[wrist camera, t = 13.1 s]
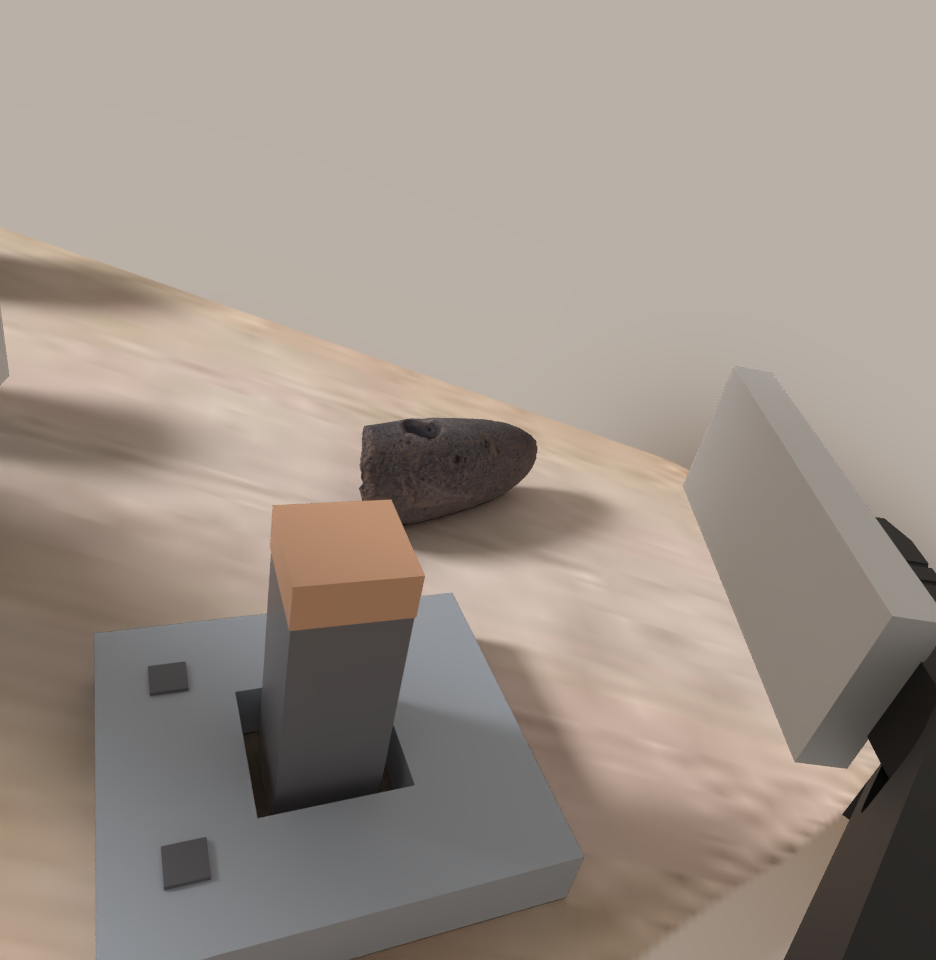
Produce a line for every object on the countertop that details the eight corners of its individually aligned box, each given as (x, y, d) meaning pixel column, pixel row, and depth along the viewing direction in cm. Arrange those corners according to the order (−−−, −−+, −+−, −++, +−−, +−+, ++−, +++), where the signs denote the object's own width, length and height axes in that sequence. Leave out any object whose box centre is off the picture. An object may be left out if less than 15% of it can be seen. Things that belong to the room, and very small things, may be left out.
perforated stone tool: (508, 471, 63) (528, 391, 59) (547, 509, 59) (570, 427, 55) (327, 502, 55) (336, 413, 51) (359, 549, 51) (371, 457, 48)
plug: (271, 836, 34) (293, 587, 27) (256, 747, 38) (272, 505, 30) (376, 815, 36) (424, 575, 28) (353, 732, 39) (391, 499, 32)
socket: (101, 1031, 27) (95, 984, 26) (98, 677, 39) (94, 630, 38) (566, 897, 34) (585, 853, 33) (443, 631, 46) (453, 589, 45)
